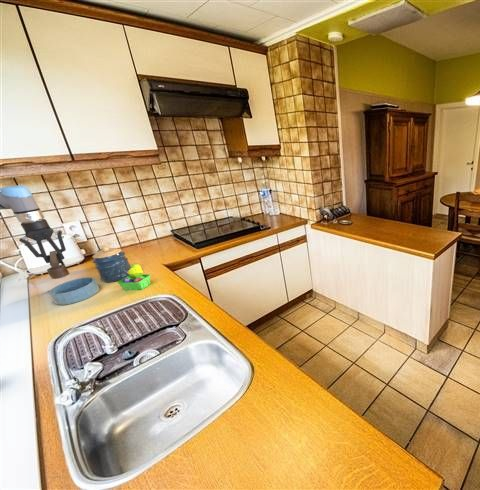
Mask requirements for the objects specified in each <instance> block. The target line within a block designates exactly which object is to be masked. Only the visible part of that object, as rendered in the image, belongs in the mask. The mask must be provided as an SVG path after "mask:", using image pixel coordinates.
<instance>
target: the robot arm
mask: <svg viewBox="0 0 480 490" xmlns="http://www.w3.org/2000/svg"><path fill="white" fill-rule="evenodd" d="M2 210H12V212H13V214H14V216H15V218H16V219H17V221H18V222H19V223H20V227H22V229H23V231H24V233H25V234H24V236H23V237H20V238H19V242H20V243H22V244H24V245H25V246H26V248H28V249H29V251H30V252H31V253H32V255H34V256H35V258H42V259H43V260H44V262H45V263H46V264H50V254H47V253H46V250H45V248H44V245H43V242H42V241H47V242H48V243H49V244H50V246H51V248H53V250H54V251H56V252H57V253H56V256H57V257H58V259H59V261H60V265H65V266H66V264H65V262H64V261H63V260H65V255H64V254H63V253H64V252H66V251H67V250H66V249H67V248H66V246H65V242H64V240H63V236H62V235H63V231H62V230H61V229H59V230H56V229H53V228H52V227H51V226H50V225H49V222H48V221H47V219H45V216H44V213H43V212H42V210H41V208H40V207H39V205H38V203H37V201H36V198H35V197H34V195H33V193H32V192H31V190H30V189H29V188H28V186H26V185H24V184H18V185H8V186H2V187H1V188H0V211H2ZM53 234H54V235H55V236H57V240H58V243H59V245H60V246H59V247H60V248H59V247H58V245H57V244H56V243H55V241H54V240H53V238H52V236H53ZM29 239H30V240H33V241H35V242H36V244H37V246H38V250H39V251H38V250H37V249H36V248H35V247H34V246H33V245H32V243H30V241H29Z"/></svg>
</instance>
